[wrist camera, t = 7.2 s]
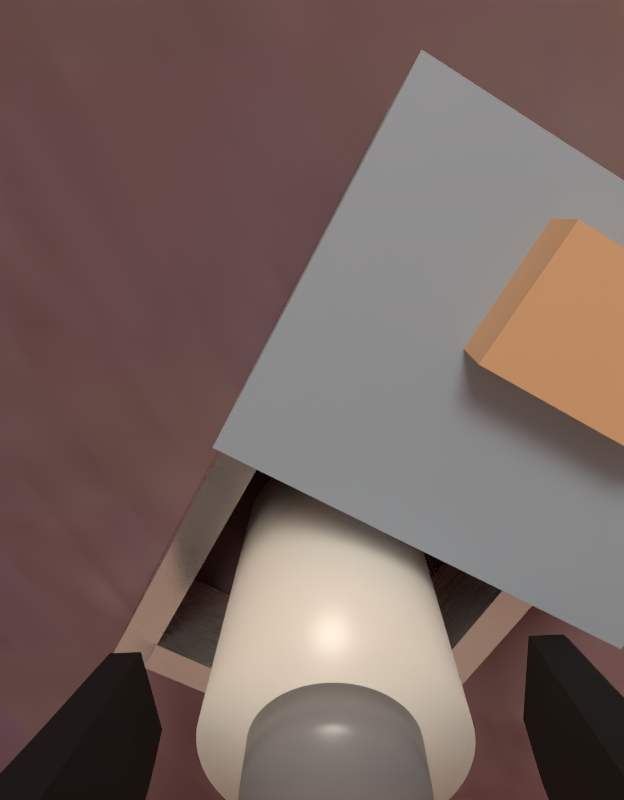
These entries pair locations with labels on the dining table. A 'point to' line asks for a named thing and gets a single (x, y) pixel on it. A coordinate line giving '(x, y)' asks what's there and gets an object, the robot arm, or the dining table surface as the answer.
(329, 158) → the dining table surface
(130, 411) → the dining table surface
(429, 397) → the block
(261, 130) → the dining table surface
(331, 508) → the cream capped bottle
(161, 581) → the beige tray
